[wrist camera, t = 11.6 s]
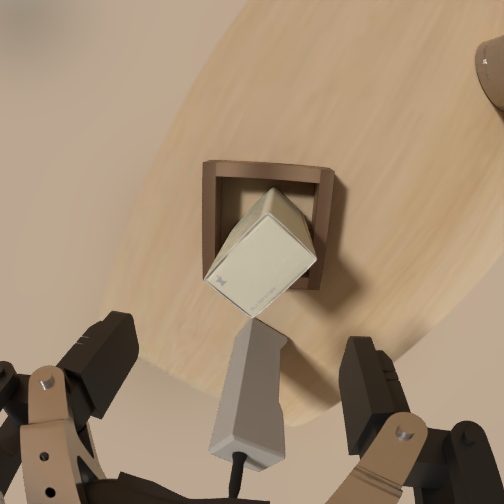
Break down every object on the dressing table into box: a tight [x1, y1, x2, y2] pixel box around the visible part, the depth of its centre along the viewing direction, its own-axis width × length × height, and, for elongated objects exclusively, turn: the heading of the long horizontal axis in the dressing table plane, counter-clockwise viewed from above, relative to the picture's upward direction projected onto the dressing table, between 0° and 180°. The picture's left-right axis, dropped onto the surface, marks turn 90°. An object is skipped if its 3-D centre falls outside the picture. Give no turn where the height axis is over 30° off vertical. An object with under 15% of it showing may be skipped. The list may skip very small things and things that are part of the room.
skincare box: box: [204, 187, 317, 318], centre depth 24 cm, size 6×4×12 cm
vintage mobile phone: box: [209, 318, 287, 498], centre depth 23 cm, size 4×5×25 cm
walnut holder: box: [202, 160, 335, 290], centre depth 28 cm, size 11×11×3 cm
